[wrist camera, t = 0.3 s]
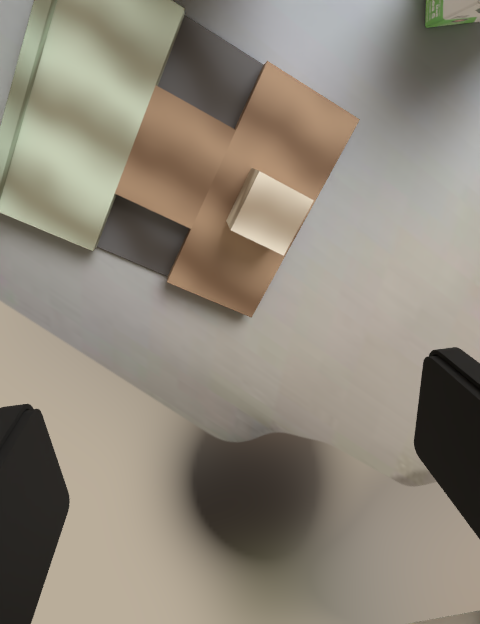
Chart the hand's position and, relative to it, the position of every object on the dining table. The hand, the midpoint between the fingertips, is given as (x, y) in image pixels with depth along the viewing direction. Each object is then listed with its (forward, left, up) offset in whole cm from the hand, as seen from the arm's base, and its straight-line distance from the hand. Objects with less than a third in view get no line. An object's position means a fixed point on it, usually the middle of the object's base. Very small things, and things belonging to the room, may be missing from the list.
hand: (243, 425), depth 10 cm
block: (-3, +5, -28) cm, 28 cm away
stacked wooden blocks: (-3, -4, -30) cm, 30 cm away
